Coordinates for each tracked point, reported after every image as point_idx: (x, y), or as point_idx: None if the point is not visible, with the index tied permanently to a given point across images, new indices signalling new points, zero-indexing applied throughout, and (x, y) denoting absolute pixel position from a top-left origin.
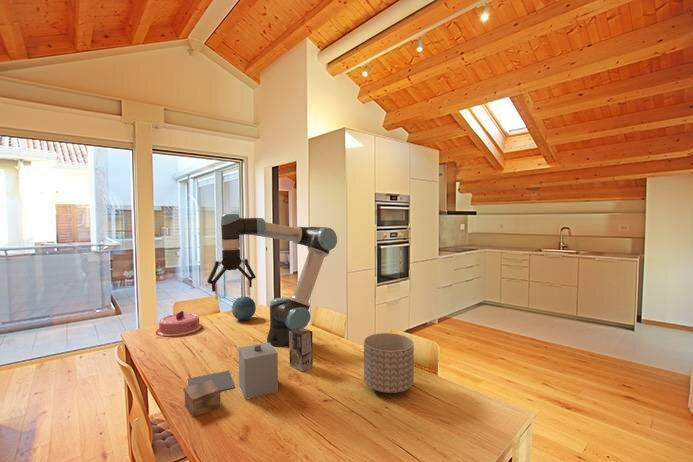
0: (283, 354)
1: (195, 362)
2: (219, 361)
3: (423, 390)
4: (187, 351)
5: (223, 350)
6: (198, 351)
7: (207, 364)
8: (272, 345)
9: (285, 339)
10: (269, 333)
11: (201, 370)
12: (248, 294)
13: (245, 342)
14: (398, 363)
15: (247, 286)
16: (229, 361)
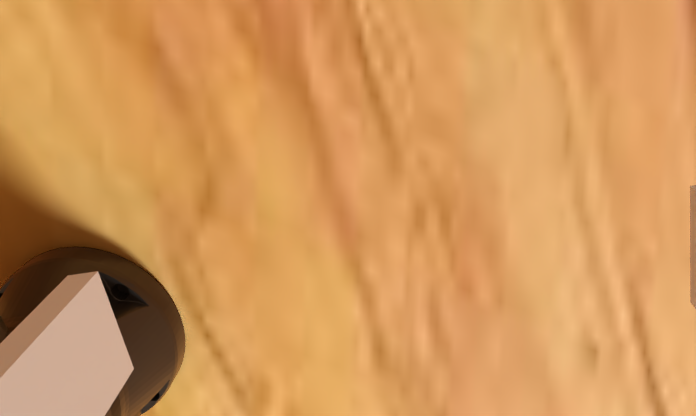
0: (80, 114)
1: (640, 189)
2: (491, 150)
3: None
4: (674, 375)
5: (457, 313)
6: (608, 352)
7: (569, 130)
8: (150, 276)
9: (48, 269)
10: (145, 357)
11: (614, 46)
12: (84, 280)
13: (318, 385)
14: None
15: (17, 406)
16: (428, 127)
